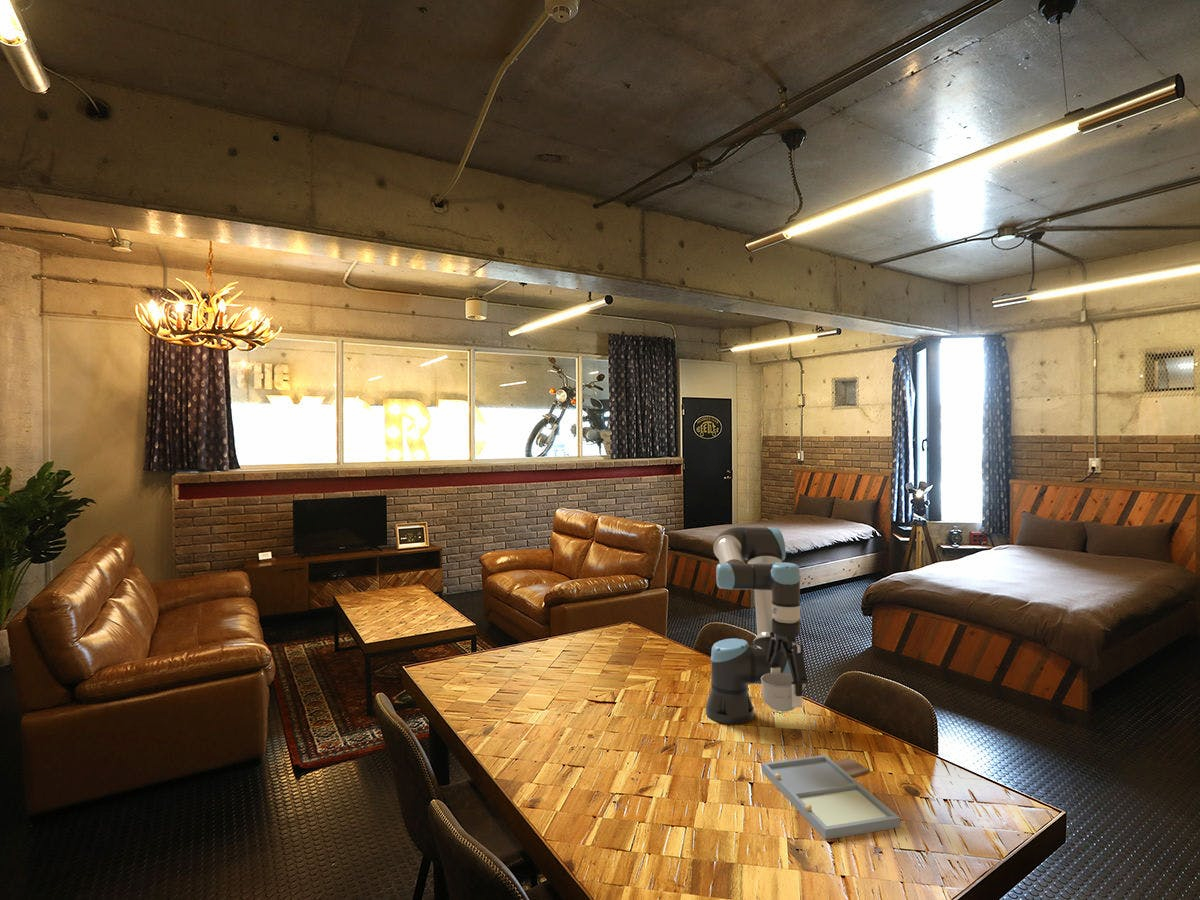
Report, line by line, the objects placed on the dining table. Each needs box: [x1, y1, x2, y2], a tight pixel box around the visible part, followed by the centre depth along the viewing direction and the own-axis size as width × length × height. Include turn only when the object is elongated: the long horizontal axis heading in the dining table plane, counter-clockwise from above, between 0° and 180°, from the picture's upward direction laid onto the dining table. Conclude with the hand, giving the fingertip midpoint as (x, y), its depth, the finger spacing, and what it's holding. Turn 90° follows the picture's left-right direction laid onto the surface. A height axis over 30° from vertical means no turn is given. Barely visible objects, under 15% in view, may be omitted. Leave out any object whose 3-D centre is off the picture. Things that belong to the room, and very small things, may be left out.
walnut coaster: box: [833, 756, 870, 778], centre depth 165 cm, size 7×7×1 cm
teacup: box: [761, 673, 807, 712], centre depth 171 cm, size 14×11×8 cm
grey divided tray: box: [761, 754, 901, 840], centre depth 151 cm, size 29×19×3 cm, turn 13°
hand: (785, 698), depth 171 cm, fingers closed on teacup, 11 cm apart
